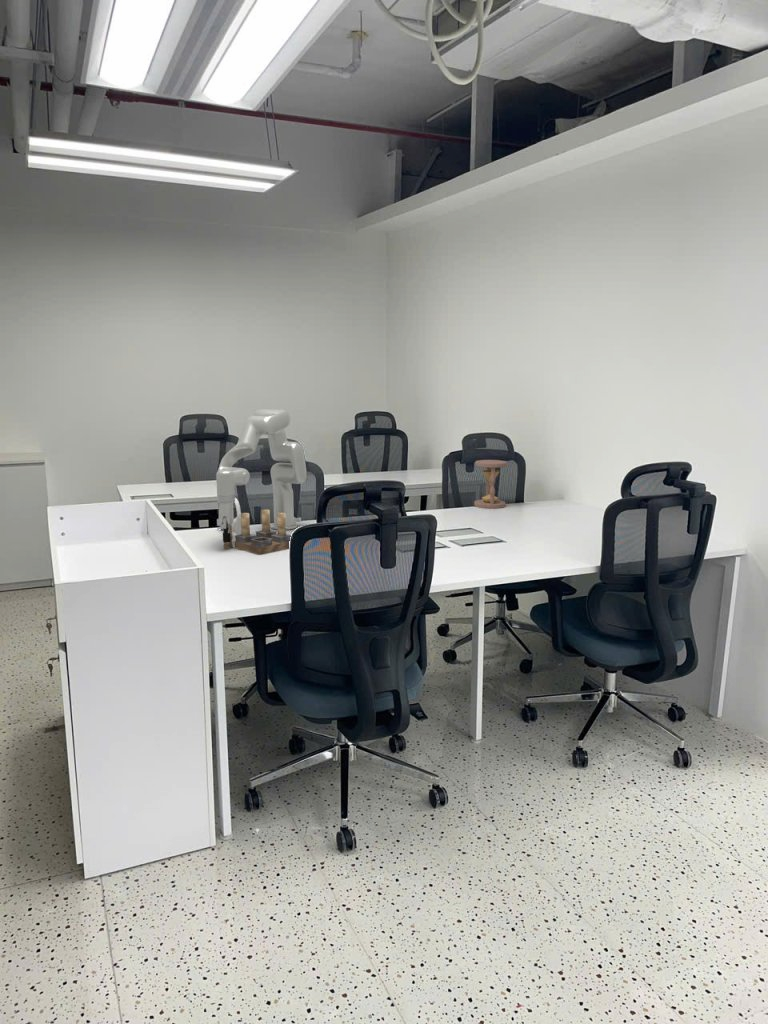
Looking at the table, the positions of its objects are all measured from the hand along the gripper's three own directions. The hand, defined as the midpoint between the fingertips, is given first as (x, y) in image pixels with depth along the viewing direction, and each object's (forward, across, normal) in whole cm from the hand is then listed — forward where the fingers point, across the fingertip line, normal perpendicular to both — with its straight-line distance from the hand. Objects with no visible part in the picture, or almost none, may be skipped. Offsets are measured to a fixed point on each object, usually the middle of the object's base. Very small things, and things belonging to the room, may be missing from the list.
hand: (227, 540), depth 325 cm
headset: (+4, -29, -4) cm, 29 cm away
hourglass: (+3, -97, +129) cm, 162 cm away
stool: (+3, 0, +16) cm, 16 cm away
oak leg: (+3, 0, 0) cm, 3 cm away
